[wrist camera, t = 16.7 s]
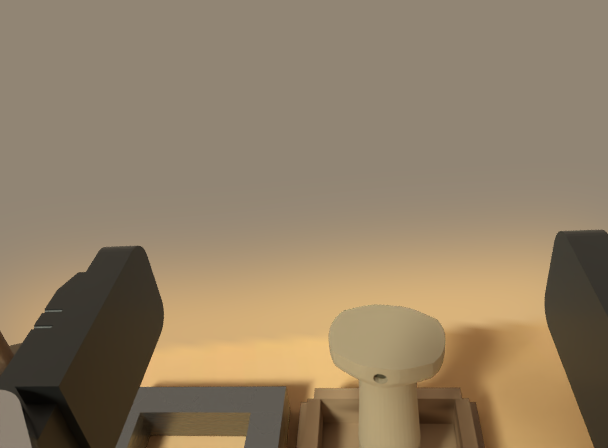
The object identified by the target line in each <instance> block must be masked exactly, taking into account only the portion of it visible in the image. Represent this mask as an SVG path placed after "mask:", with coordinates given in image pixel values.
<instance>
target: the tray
mask: <svg viewBox="0 0 608 448" xmlns="http://www.w3.org/2000/svg"><path fill="white" fill-rule="evenodd" d="M417 402H418V413H419V424H420V438H421V439H420V448H485V446H484V441H483V436H482V431H481V426H480V422H479V417H478V412H477V407H476V402H469V399H462V396H461V391H460V388H417ZM358 431H359V388H315V393H314V399H307V403H301V407H300V417H299V427H298V436H297V446H296V448H359V435H358Z"/></svg>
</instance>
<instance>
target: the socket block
mask: <svg viewBox="0 0 608 448" xmlns="http://www.w3.org/2000/svg"><path fill="white" fill-rule="evenodd" d="M289 418H290V405H289V400H288V394H287V389H286V387H139V390H138V392H137V395H136V397H135V400H134V402H133V405H132V407H131V410H130V412H129V415H128V417H127V420H126V422H125V425H124V427H123V430H122V432H121V435H120V437H119V440H118V442H117V445H116V447H115V448H146V445H147V442H148V440H149V437H150V435H159V436H246V441H245V447H244V448H286V443H287V435H288V426H289Z"/></svg>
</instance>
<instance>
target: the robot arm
mask: <svg viewBox="0 0 608 448" xmlns="http://www.w3.org/2000/svg"><path fill="white" fill-rule="evenodd" d="M545 314H546V320H547V324H548V327H549V330H550V333H551V335H552V338H553V341H554V343H555V346H556V348H557V351H558V354H559V356H560V359H561V361H562V364H563V367H564V369H565V372H566V375H567V377H568V380H569V382H570V385H571V388H572V390H573V393H574V395H575V398H576V401H577V403H578V406H579V409H580V411H581V414H582V416H583V419H584V422H585V424H586V427H587V429H588V432H589V435H590V437H591V440H592V443H593V445H594V448H608V234H607V232H605V231H604V230H580V231H560V232H558V234H557V235H556V238H555V241H554V247H553V252H552V258H551V263H550V270H549V275H548V280H547V286H546V292H545ZM163 319H164V311H163V303H162V300H161V296H160V294H159V290H158V287H157V284H156V281H155V278H154V275H153V273H152V269H151V266H150V263H149V260H148V257H147V254H146V252H145V250H144V249H143V248H142V247H141V246H120V247H104V248H102V249H101V250H100V251H99V252H98V254H97V255H96V257H95V258H94V260H93V261H92V263H91V265H90V266H89V268H88V270H87V271H86V272H79V273H77V274H76V275H75V276H74V277H72V278H71V279H70V280H69V281H68V282H66V283H65V284H64V285H63V286H62V287H60V288H59V289H58V290H57V291H56V293H55V294H54V296H53V297H52V299H51V301H50V302H49V304H48V305H47V307H46V308H45V313H42V314H41V316H40V317H39V319H38V320H37V322H36V323H35V325H34V329H33V330H31V331H30V332H29V334H28V335H27V337H26V338H25V340H24V341H23V343H22V344H21V346H20V347H19V349H18V350H17V352H16V353H15V355H14V356H13V358H12V359H11V361H10V363H9V364H8V366H7V367H6V369H5V370H4V372H3V373H2V375H1V376H0V448H115V447H116V445H117V442H118V440H119V437H120V435H121V432H122V430H123V427H124V425H125V422H126V420H127V417H128V415H129V412H130V410H131V407H132V405H133V402H134V400H135V397H136V395H137V392H138V390H139V387H140V385H141V382H142V379H143V377H144V374H145V372H146V369H147V367H148V364H149V362H150V359H151V357H152V354H153V352H154V349H155V347H156V344H157V342H158V339H159V336H160V334H161V331H162V327H163Z"/></svg>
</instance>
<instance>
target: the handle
mask: <svg viewBox="0 0 608 448" xmlns="http://www.w3.org/2000/svg"><path fill="white" fill-rule="evenodd" d="M329 348H330V354H331V357H332V360H333V362H334V364H335V366H337V367H338V368H340V369H341V370H343V371H344V372H346V373H348V374H349V375H351V376H353V377H355V378H357V379H359V431H358V435H359V448H420V439H421V438H420V424H419V413H418V402H417V384H416V383H417V382H420V381H423V380H426V379H429V378H432V377H433V376H434V375H435V374H436V373H437V372H438V371H439V370H440V368H441V365H442V363H443V359H444V353H445V333H444V329H443V327H442V325H441V324H440V323H439V321H438V320H437V319H435V318H432V317H430V316H428V315H426V314H423V313H421V312H419V311H416V310H413V309H410V308H406V307H400V306H389V305H368V306H362V307H358V308H353V309H349V310H344V311H343V312H342V313H340V314H339V315H338V316H337V317H336V318H335V320H334V321H333V323H332V325H331V327H330V331H329Z"/></svg>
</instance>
